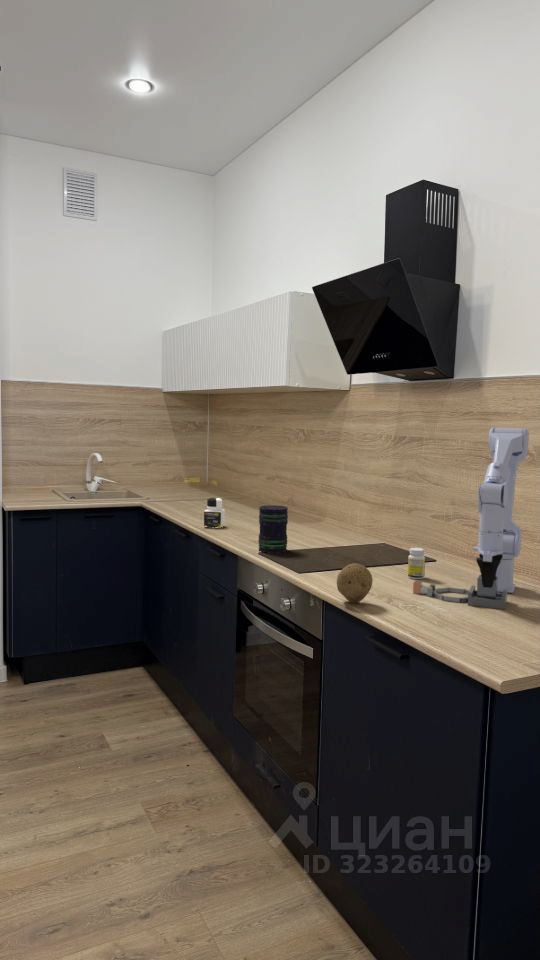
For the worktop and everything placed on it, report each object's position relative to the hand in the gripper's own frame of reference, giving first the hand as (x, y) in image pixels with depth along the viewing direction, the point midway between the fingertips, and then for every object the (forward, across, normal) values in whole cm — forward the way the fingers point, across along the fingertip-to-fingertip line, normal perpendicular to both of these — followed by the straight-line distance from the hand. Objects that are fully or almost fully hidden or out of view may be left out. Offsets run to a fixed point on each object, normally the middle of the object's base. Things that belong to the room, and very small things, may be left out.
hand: (488, 584), depth 173 cm
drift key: (+5, -3, -17) cm, 18 cm away
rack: (+5, 0, 0) cm, 5 cm away
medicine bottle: (+5, -73, -114) cm, 135 cm away
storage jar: (+5, -38, -74) cm, 83 cm away
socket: (+5, -3, -8) cm, 10 cm away
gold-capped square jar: (+3, 0, 0) cm, 3 cm away
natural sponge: (+5, +15, -30) cm, 34 cm away
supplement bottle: (+5, -20, -22) cm, 30 cm away
